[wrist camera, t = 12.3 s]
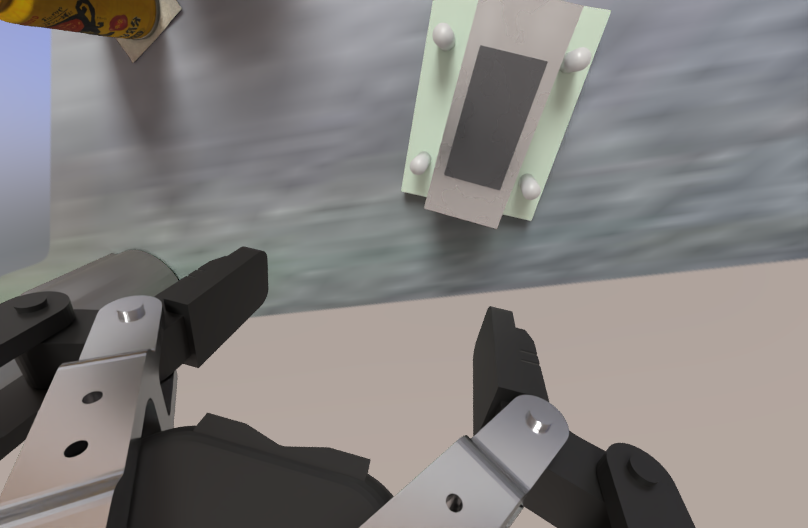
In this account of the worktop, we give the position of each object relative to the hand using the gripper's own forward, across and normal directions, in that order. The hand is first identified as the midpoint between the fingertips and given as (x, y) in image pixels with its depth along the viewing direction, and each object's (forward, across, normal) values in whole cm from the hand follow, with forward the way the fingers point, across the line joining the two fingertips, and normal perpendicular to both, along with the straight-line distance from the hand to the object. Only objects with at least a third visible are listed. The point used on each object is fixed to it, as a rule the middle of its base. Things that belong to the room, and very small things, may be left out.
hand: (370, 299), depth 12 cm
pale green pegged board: (+19, -3, -6) cm, 20 cm away
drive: (+18, -3, -6) cm, 19 cm away
